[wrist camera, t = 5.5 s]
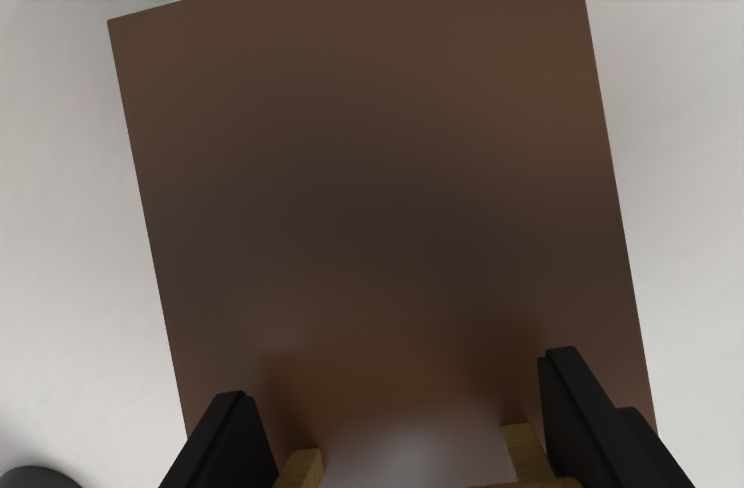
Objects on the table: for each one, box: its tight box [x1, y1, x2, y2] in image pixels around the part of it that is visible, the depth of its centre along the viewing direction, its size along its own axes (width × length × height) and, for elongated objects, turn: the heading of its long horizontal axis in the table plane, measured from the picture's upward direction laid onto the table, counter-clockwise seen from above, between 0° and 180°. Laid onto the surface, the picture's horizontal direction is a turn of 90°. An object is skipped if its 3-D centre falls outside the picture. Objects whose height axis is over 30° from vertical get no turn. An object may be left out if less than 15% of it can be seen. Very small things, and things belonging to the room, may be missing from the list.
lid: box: [107, 0, 658, 488], centre depth 9 cm, size 13×11×5 cm
